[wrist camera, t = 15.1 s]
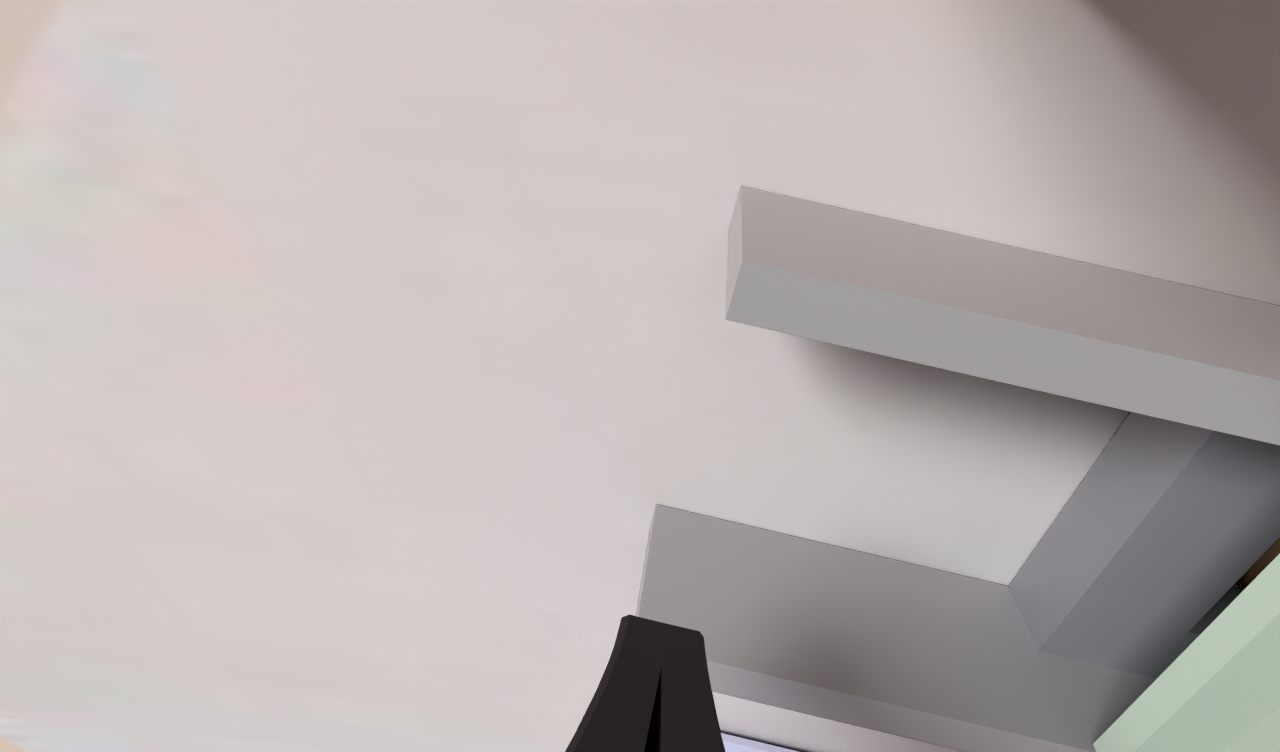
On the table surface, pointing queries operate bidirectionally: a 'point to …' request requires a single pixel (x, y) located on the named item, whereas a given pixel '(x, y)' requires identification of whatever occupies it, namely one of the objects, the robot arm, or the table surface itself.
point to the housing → (1070, 549)
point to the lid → (1215, 685)
